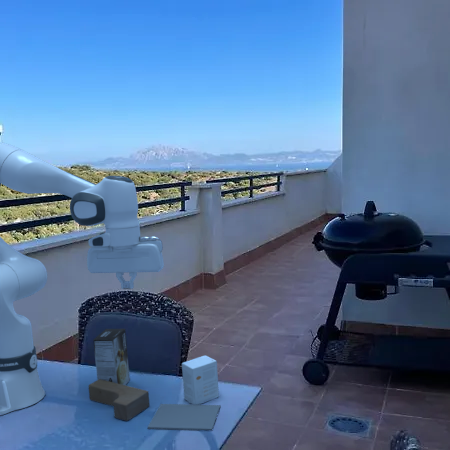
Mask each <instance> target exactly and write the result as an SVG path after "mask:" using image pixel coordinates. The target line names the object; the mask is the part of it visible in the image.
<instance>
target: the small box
mask: <svg viewBox="0 0 450 450" xmlns="http://www.w3.org/2000/svg"><path fill="white" fill-rule="evenodd" d="M181 369H182V371H181V372H182V373H181V374H182V383H183V395H184V396H183V399H184V400H185V401H186V402H188V403H189V404H190V405H203V404H204V403H206V402H209V401H212V400H214V399H217V398H219V397H220V391H219V377H218V376H219V375H218V362H217V360H215V359H214V358H212V357H209V356H208V355H206V354H205V355H202V356H198V357H195V358H193V359H191V360H190V359H189V360H187V361H183V362H182V363H181Z"/></svg>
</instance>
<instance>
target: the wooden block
mask: <svg viewBox="0 0 450 450" xmlns="http://www.w3.org/2000/svg"><path fill="white" fill-rule="evenodd" d="M88 393H89V400H90V401H93V402H97V403H101V404H103V405H106V406H107V405H108V406H112V407H113V413H114V414H113V416H114V418H115V419H119V420H122V421H125V422H128V421H130V420H131V419H133V418H134V417H135V416H137V415H138V414H140V413H142V412H144V410H146V409H148V408H149V407H150V397H149V395H150V394H149V391H148V390H146V389H141V388H138V387H133V386H129V385H127V384H126V385H122V384H118V383H114V382H110V381H106V380H101V379H99V380H95V381H93V382H91V383H90V384H88Z"/></svg>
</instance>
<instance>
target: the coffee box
mask: <svg viewBox="0 0 450 450" xmlns="http://www.w3.org/2000/svg"><path fill="white" fill-rule="evenodd" d="M92 341H93V351H94V359H95V361H94V362H95V368H96V379H97V380H99V379H101V380H106V381H110V382H114V383H118V384H122V385H126V386H127V384H128V383H129V382H130V381H131V378H130V377H131V376H130V367H129V355H128V347H127V346H128V345H127V334H126V328H105V329H104V330H103V331H102V332H100V333H99V334H98V335H97V336H95V337H94V338H93V340H92ZM97 380H96V381H97Z"/></svg>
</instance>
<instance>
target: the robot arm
mask: <svg viewBox="0 0 450 450" xmlns="http://www.w3.org/2000/svg"><path fill="white" fill-rule="evenodd" d="M2 185H3V186H5V187H7V188H8V189H10V190H13V191H16V192H19V193H24V194H26V195H27V194H30V195H31V194H32V195H33V194H60V195H64V196H65V197H66V196H67V197H69V198H71V199H70V202H69V212H70V215H71V218H72V219H73V220H74V221H75V223H76V224H78V225H79V226H82V227H93V226H96V225H98V226H99V225H102V224H104V228H105V231H104V232H102V233H100V234H98V235H95V236H93V237H91V238H89V239H88V246H89V248H88V251H87V255H86V257H87V258H86V259H87V260H86V261H87V262H86V263H87V264H86V265H87V270H88V272H90V274H115V275H116V276H115V277H116V279H117V280H118V281H119V283H120V286H121V287H120V288H121V290H130V289H131V290H132V289H134V287H135V283H134V282H135V279H136V278H137V276H138V275H137V274H138V273H159V272H160V271H162V270H163V268H164V267H165V263H164V256H163V250H164V249H163V248H164V247H163V242H162V240H161V239H160V238H158V237H157V236H141V229H140V228H141V227H140V221H139V218H138V212H139V202H138V195H137V190H136V186H135V183H134V180H132V179H131V178H129V177H127V176H122V175H107V176H105V177H104V178H102V180H101V181H100V182H97V183H95V182H92V181H90V180H87V179H84V177H83V178H82V177H80V176H78V175H76V174H73V173H70V172H68V171H65V170H64V169H62V168H59V167H57V166H55V165H53V164H51V163H49V162H46V160H43V159H41V158H40V157H37V156H35V155H33V154H31V153H30V152H28V151H26V150H24V149H21V148H19V147H17V146H15V145H11V144H10V143H5V142H2V141H0V187H2ZM124 273H127V274H128V273H129V274H128V275H129V277H130V280H126V279H125V278H124V275H125V274H124ZM47 281H48V271H47V269H46V266H45V264H44V263H43V262H42V261H40V260H39V259H37V258H34V257H30V256H27V255H26V254H24V253H21V252H20V251H18V250H17V249H15V248H14V247H12V246H11V245H9V243H8V242H6V241H5V240H4V239H3V238H2V237H1V236H0V416H3V415H5V414H9V413H10V412H13V411H17V410H21V409H24V408H27V407H30V406H33V405H34V404H37V403H39V402H40V401H41V400H43V398H44V397H45V395H46V391H45V389H44V387H43V385H42V382H41V379H40V375H39V371H38V357H37V350H36V346H35V345H34V336H33V328H32V323H31V320H30V319H29V318H27V317H26V316H25V315H23V314H19V313H17V312H16V310H15V307H14V302H15V301H19V300H22V299H25V298H27V297H31V296H32V295H34V294H37V292H39V291H40V290H42V289H44V288H45V286H46V284H47Z"/></svg>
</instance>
